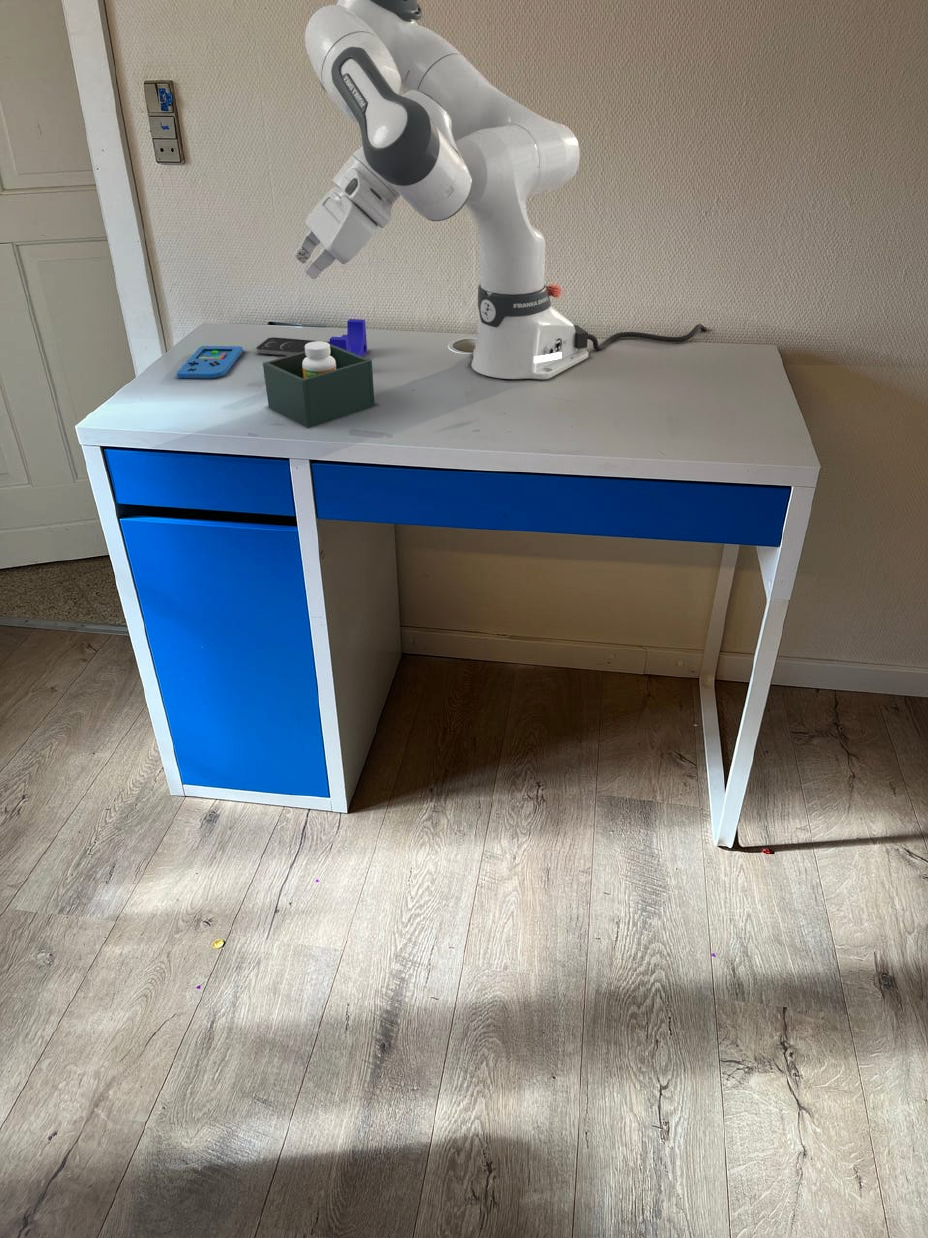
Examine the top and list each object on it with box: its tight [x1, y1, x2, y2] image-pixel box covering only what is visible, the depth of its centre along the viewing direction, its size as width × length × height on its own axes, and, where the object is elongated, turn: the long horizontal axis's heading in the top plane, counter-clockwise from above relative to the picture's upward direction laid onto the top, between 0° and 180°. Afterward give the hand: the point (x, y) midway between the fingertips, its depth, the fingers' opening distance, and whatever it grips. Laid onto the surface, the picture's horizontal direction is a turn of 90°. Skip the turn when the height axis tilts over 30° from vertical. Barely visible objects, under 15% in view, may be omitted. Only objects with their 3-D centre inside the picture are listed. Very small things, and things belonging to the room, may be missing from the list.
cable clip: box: [329, 318, 368, 357], centre depth 171 cm, size 12×4×6 cm, turn 169°
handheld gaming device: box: [176, 345, 244, 379], centre depth 171 cm, size 8×1×15 cm
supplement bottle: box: [302, 340, 336, 379], centre depth 151 cm, size 5×5×10 cm
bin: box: [262, 344, 376, 428], centre depth 152 cm, size 13×11×8 cm
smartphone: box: [255, 336, 330, 356], centre depth 177 cm, size 8×1×15 cm
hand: (303, 267), depth 141 cm, fingers open, 8 cm apart
